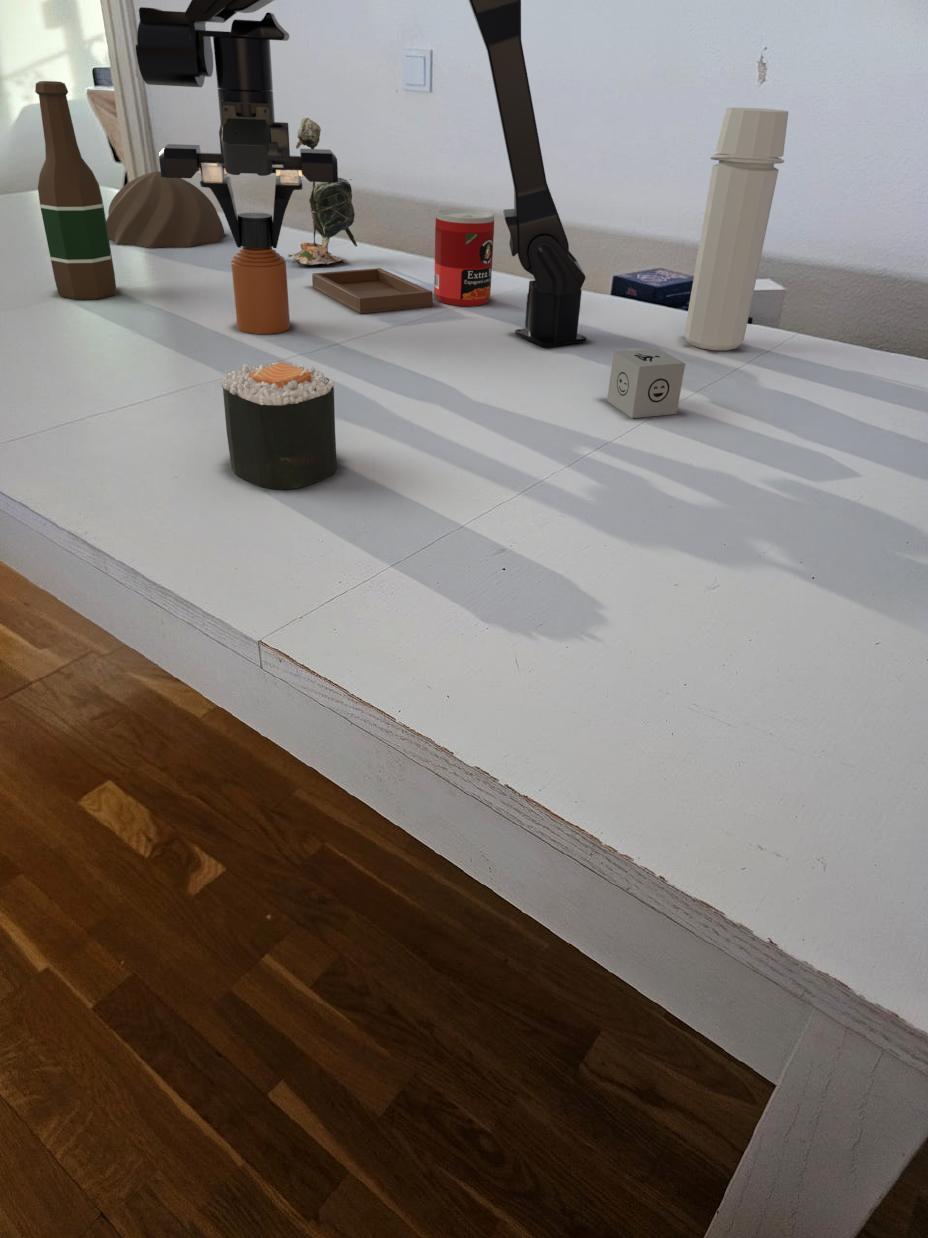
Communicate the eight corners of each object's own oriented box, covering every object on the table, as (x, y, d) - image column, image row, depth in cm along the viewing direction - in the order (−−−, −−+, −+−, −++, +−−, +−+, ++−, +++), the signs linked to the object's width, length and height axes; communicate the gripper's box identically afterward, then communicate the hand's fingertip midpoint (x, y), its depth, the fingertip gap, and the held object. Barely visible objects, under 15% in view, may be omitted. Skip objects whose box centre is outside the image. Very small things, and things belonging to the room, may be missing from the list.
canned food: (468, 309, 119) (472, 219, 113) (422, 298, 123) (423, 211, 117) (501, 299, 125) (506, 213, 119) (456, 289, 129) (458, 206, 123)
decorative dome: (105, 227, 158) (94, 163, 153) (220, 225, 164) (214, 164, 158) (102, 248, 143) (91, 178, 138) (230, 246, 148) (224, 179, 143)
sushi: (287, 441, 78) (281, 348, 74) (355, 467, 74) (353, 371, 69) (211, 467, 73) (199, 369, 68) (280, 497, 68) (272, 395, 64)
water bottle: (748, 355, 106) (799, 113, 93) (680, 349, 107) (721, 108, 94) (741, 335, 114) (787, 108, 101) (678, 329, 115) (715, 104, 102)
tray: (432, 306, 120) (432, 291, 119) (360, 313, 115) (359, 298, 114) (380, 281, 131) (380, 267, 130) (312, 287, 126) (311, 273, 125)
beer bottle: (128, 288, 122) (96, 81, 109) (103, 301, 115) (66, 84, 102) (73, 284, 122) (34, 78, 109) (45, 298, 116) (0, 80, 103)
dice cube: (607, 401, 90) (613, 351, 88) (650, 397, 92) (658, 348, 89) (631, 418, 86) (639, 366, 84) (676, 413, 88) (685, 362, 85)
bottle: (297, 330, 107) (291, 222, 101) (247, 336, 105) (237, 225, 98) (279, 318, 112) (271, 213, 105) (230, 323, 109) (219, 216, 103)
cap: (274, 242, 105) (272, 212, 104) (274, 248, 102) (272, 218, 100) (240, 241, 105) (238, 211, 103) (239, 248, 101) (236, 217, 100)
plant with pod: (365, 266, 139) (362, 119, 129) (291, 268, 136) (283, 117, 125) (354, 256, 146) (350, 115, 135) (283, 257, 143) (274, 113, 132)
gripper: (143, 88, 87) (164, 260, 95) (338, 97, 90) (342, 262, 98) (156, 84, 96) (175, 240, 104) (333, 92, 99) (337, 243, 107)
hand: (256, 247), depth 103 cm, fingers closed on cap, 4 cm apart
